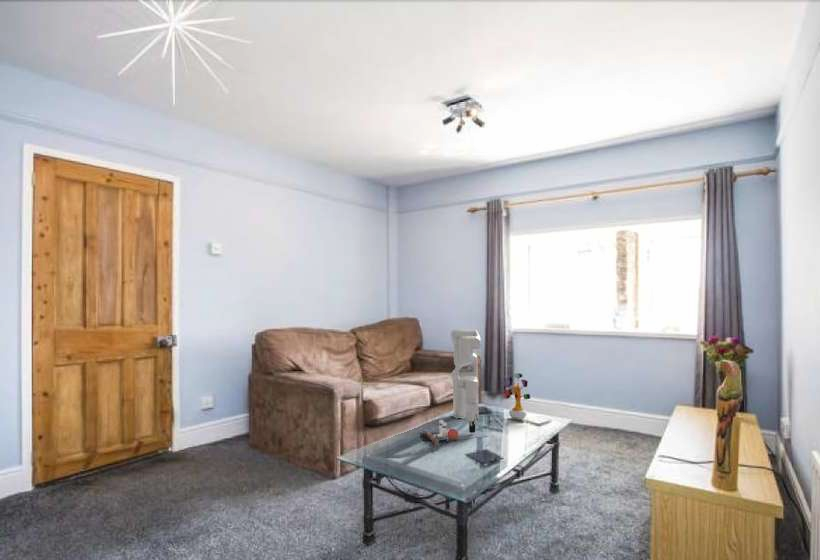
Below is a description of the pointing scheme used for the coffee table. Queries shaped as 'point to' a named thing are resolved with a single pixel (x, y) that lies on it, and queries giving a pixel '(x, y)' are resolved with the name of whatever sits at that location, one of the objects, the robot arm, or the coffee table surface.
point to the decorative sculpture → (516, 397)
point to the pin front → (439, 435)
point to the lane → (468, 435)
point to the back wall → (432, 437)
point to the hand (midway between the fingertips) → (472, 432)
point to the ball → (452, 434)
